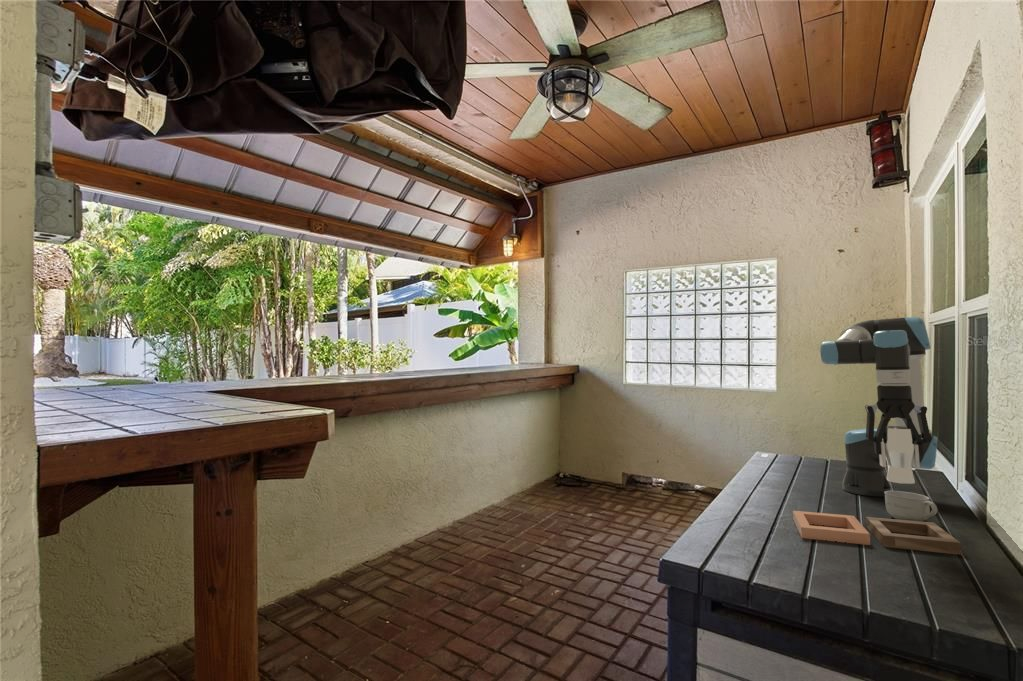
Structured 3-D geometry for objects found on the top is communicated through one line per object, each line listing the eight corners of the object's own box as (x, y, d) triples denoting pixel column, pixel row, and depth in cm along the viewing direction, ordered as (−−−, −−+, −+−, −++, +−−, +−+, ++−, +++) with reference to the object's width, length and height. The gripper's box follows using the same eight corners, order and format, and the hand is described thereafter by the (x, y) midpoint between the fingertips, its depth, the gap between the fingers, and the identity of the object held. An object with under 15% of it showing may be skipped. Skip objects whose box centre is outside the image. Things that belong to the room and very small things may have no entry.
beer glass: (923, 484, 126) (919, 429, 127) (894, 484, 128) (890, 429, 129) (906, 478, 133) (903, 425, 134) (879, 477, 135) (876, 425, 135)
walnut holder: (866, 527, 140) (865, 516, 140) (934, 533, 133) (933, 522, 133) (884, 546, 125) (883, 535, 125) (961, 554, 119) (960, 542, 119)
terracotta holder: (793, 520, 147) (792, 510, 148) (854, 525, 141) (853, 515, 141) (801, 537, 133) (801, 527, 133) (870, 545, 126) (869, 533, 126)
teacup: (877, 514, 150) (875, 489, 151) (911, 514, 150) (910, 488, 150) (913, 530, 136) (911, 502, 137) (951, 529, 136) (949, 501, 137)
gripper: (855, 385, 132) (860, 467, 131) (944, 385, 125) (951, 472, 123) (848, 384, 139) (853, 462, 138) (932, 383, 132) (938, 466, 130)
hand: (899, 466), depth 131 cm, fingers closed on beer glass, 7 cm apart
